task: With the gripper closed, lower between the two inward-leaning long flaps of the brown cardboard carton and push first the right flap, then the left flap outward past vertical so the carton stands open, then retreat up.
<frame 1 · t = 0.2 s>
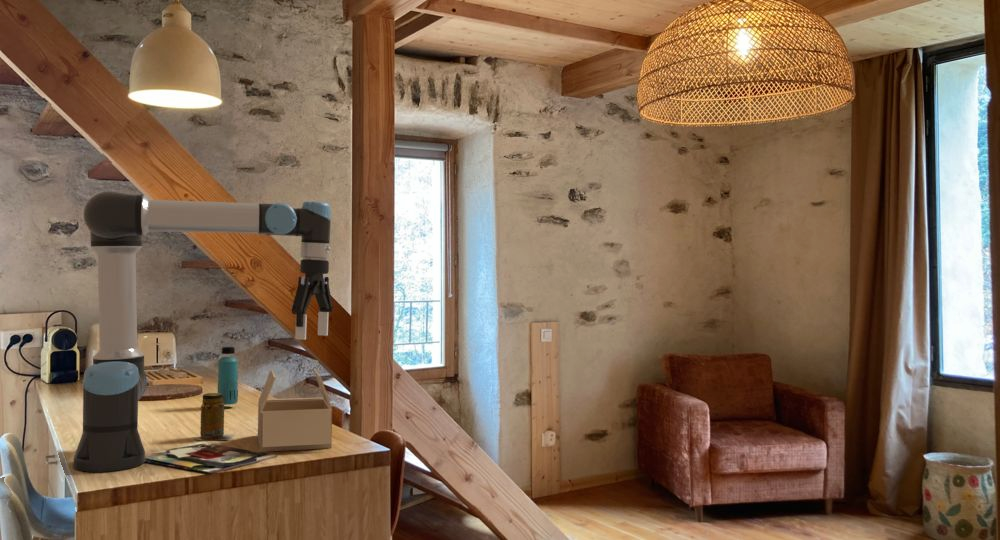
hand: (311, 337, 212), 28 cm above the table, fingers open, 13 cm apart
beverage bottle: (227, 408, 257), on the table
carton: (293, 442, 210), on the table
far flap: (291, 413, 219), point 6 cm above the table, hinge at 160.0°
left flap: (266, 389, 207), point 15 cm above the table, hinge at -20.0°
right flap: (322, 387, 212), point 15 cm above the table, hinge at -20.0°
condiment: (215, 438, 214), on the table
near flap: (297, 427, 200), point 6 cm above the table, hinge at 160.0°
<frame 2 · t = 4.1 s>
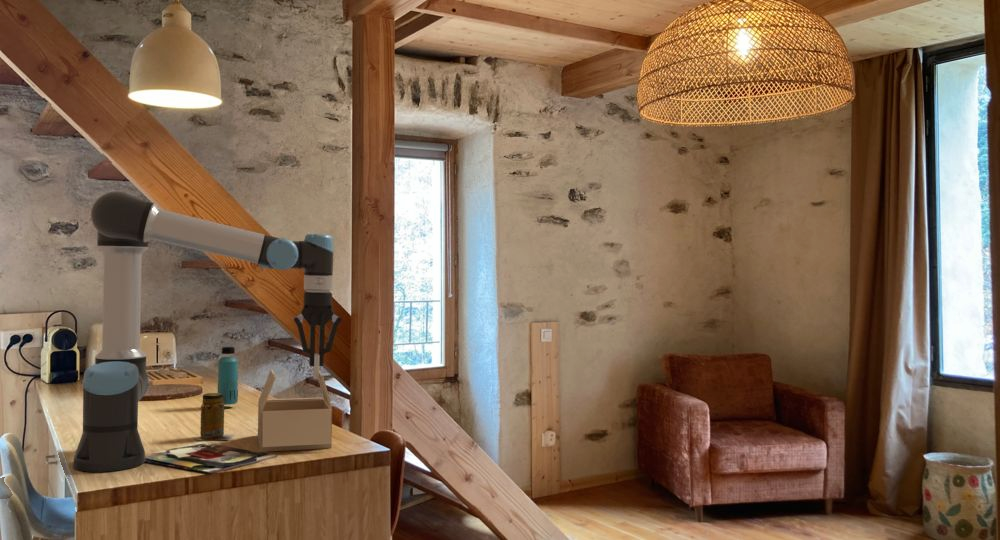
hand: (316, 378, 211), 17 cm above the table, fingers closed
right flap: (323, 387, 212), point 15 cm above the table, hinge at -15.8°, touching gripper
everything else where it was.
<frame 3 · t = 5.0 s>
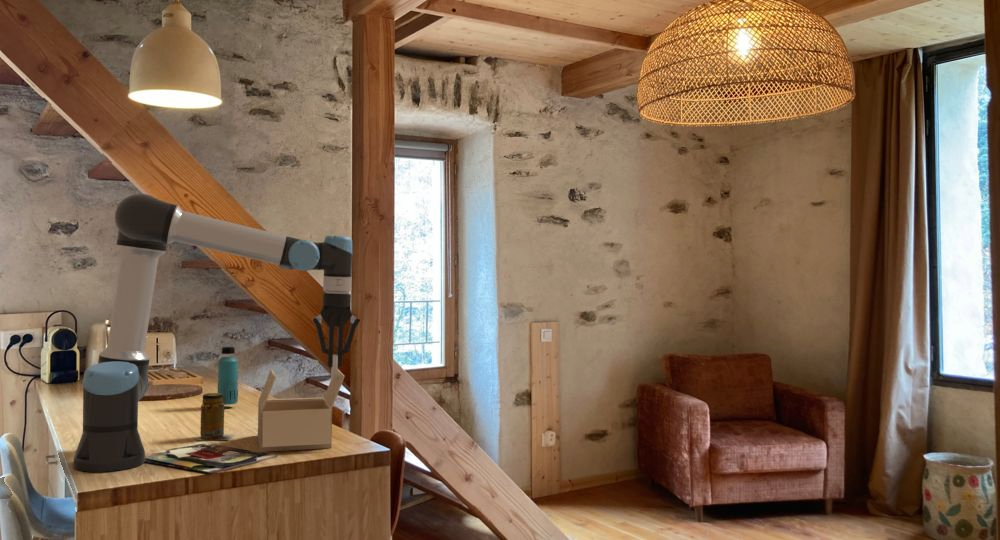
hand: (334, 378, 213), 17 cm above the table, fingers closed
right flap: (333, 387, 213), point 15 cm above the table, hinge at 20.8°, touching gripper
everything else where it was.
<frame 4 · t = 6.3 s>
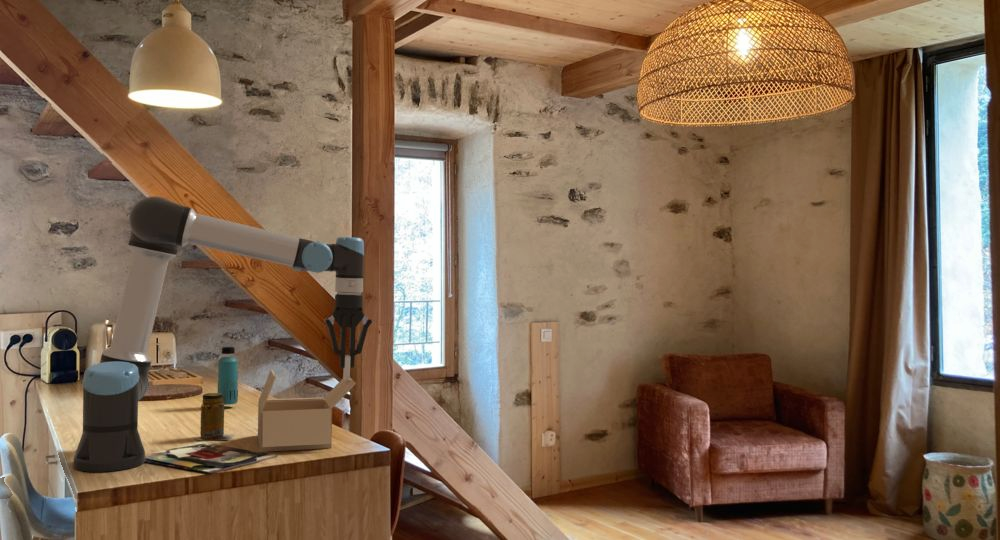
hand: (346, 379, 214), 17 cm above the table, fingers closed
right flap: (339, 390, 214), point 14 cm above the table, hinge at 44.0°, touching gripper
everything else where it was.
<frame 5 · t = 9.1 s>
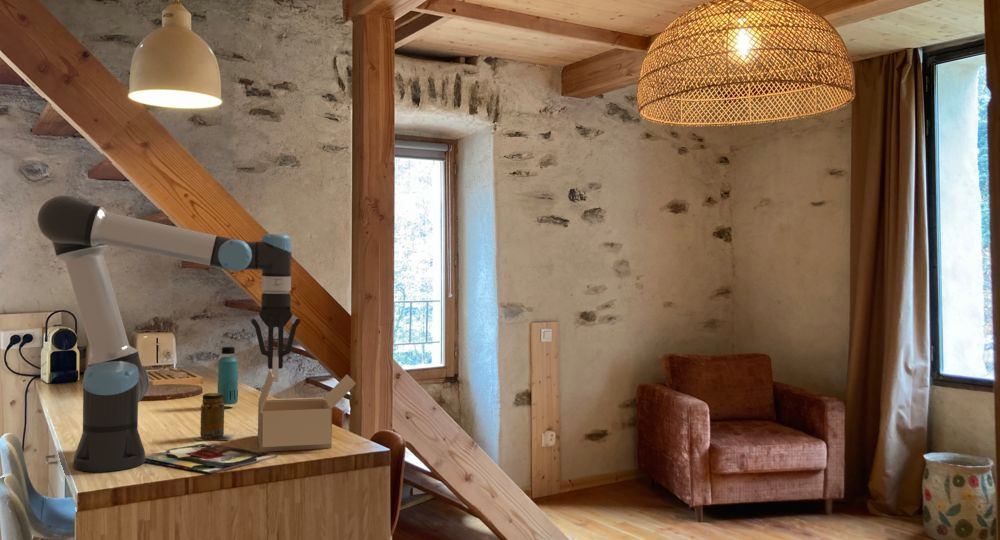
hand: (275, 380, 208), 17 cm above the table, fingers closed
left flap: (266, 389, 207), point 15 cm above the table, hinge at -17.7°, touching gripper
right flap: (339, 390, 214), point 14 cm above the table, hinge at 44.0°
everything else where it was.
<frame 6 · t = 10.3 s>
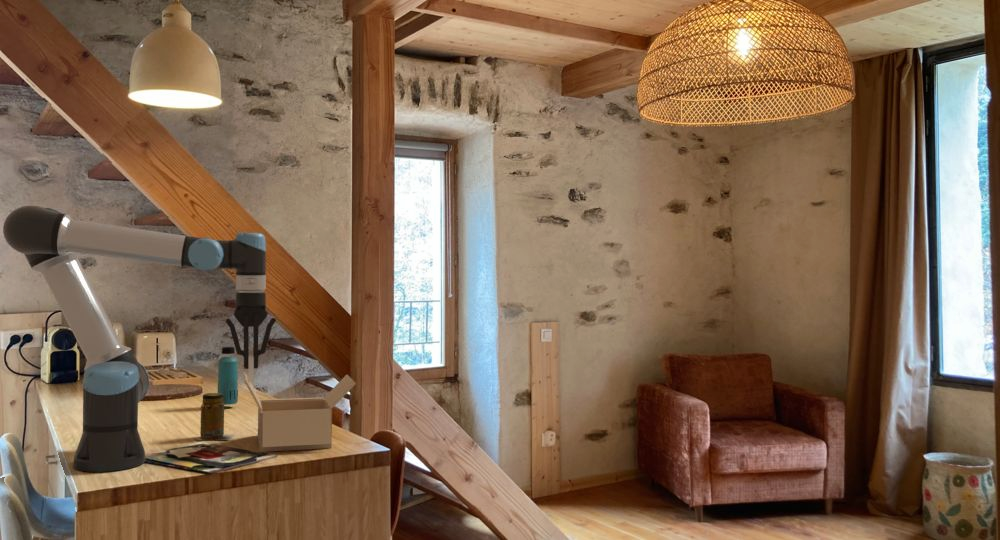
hand: (250, 380, 206), 17 cm above the table, fingers closed
left flap: (252, 390, 206), point 14 cm above the table, hinge at 28.0°, touching gripper
everything else where it was.
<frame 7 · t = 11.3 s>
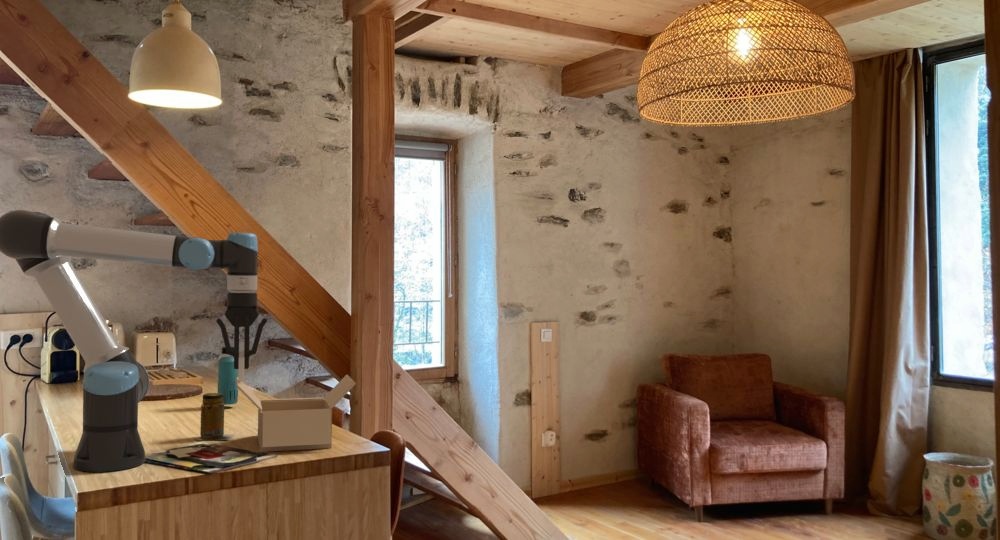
hand: (241, 381, 205), 17 cm above the table, fingers closed
left flap: (248, 393, 206), point 14 cm above the table, hinge at 42.7°, touching gripper
everything else where it was.
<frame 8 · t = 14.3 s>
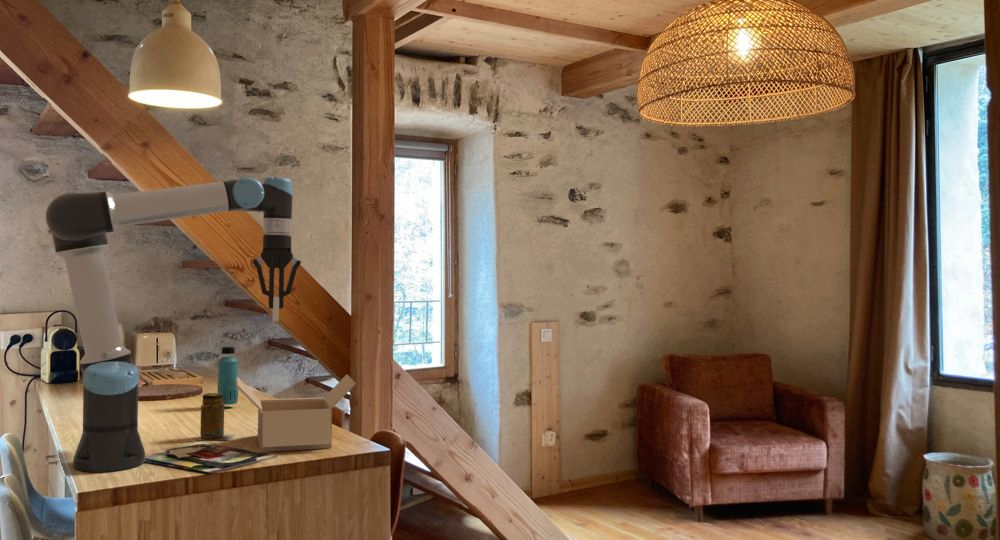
hand: (275, 320, 214), 32 cm above the table, fingers closed
left flap: (248, 393, 206), point 14 cm above the table, hinge at 42.9°
everything else where it was.
at the end: right flap at +44° (first picture: -20°); left flap at +43° (first picture: -20°) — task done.
